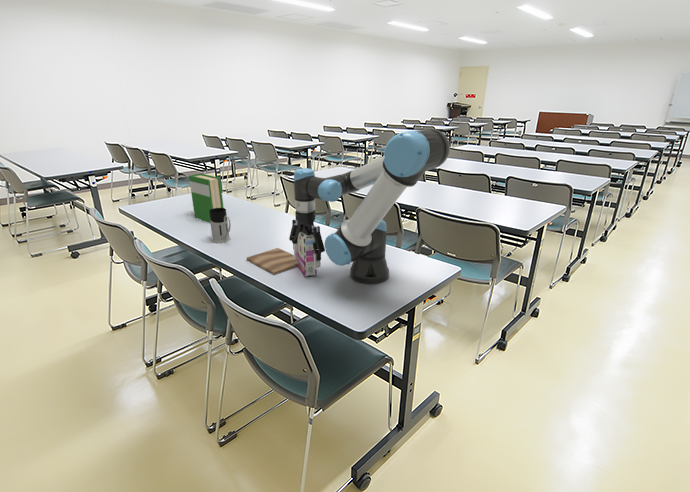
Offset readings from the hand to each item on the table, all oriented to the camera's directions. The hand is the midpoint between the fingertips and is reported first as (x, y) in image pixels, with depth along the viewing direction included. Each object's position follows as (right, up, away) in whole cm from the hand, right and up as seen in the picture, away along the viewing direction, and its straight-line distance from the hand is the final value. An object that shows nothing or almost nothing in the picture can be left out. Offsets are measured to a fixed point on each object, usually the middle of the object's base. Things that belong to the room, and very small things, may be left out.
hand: (307, 262), depth 154 cm
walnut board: (-14, 0, +9) cm, 17 cm away
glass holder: (-43, +9, +31) cm, 54 cm away
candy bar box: (0, -3, +1) cm, 4 cm away
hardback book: (-61, +22, +63) cm, 90 cm away
